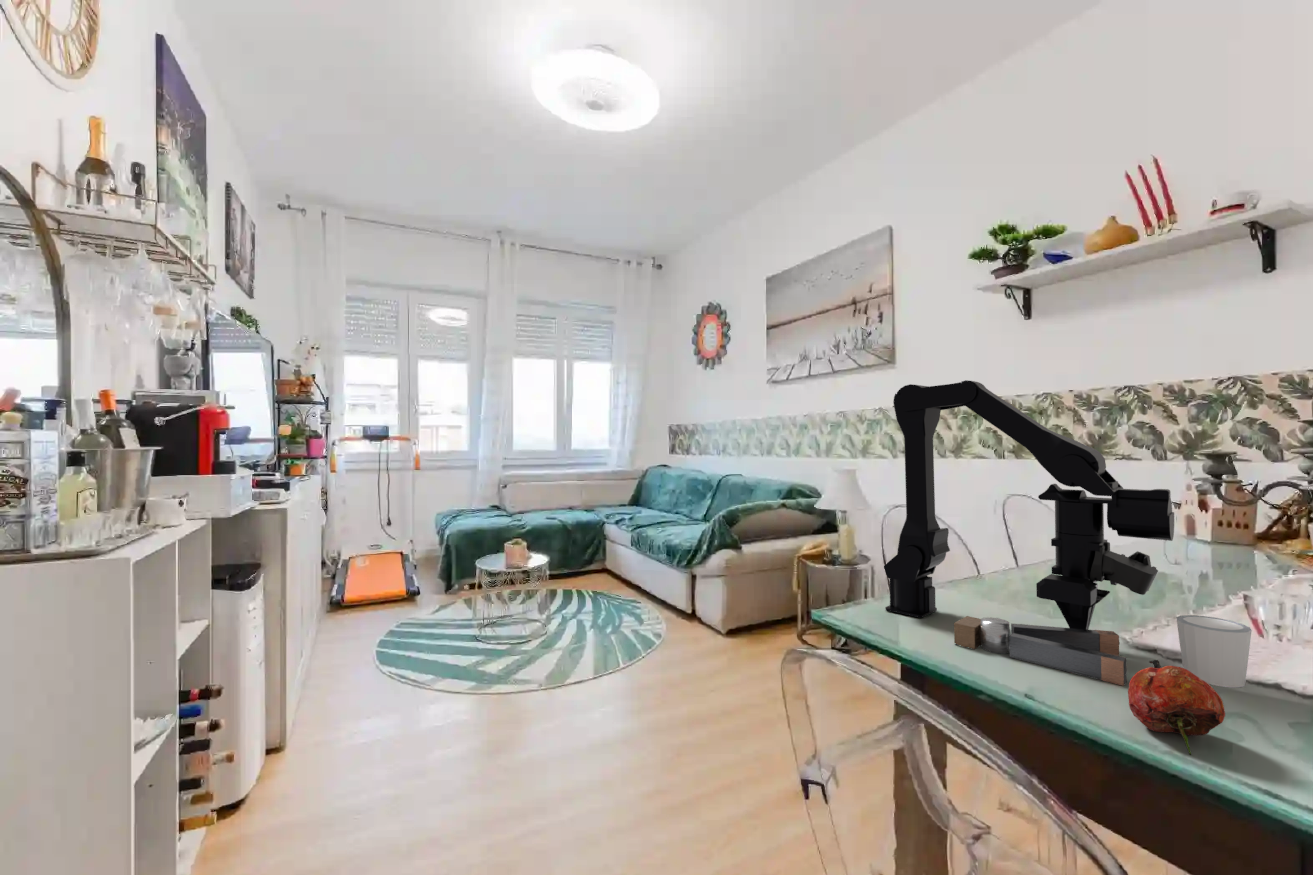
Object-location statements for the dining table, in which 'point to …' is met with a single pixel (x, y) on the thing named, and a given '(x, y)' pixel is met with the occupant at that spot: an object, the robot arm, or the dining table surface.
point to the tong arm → (1072, 637)
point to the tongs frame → (1039, 650)
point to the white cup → (1214, 649)
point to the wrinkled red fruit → (1174, 701)
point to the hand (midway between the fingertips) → (1080, 639)
